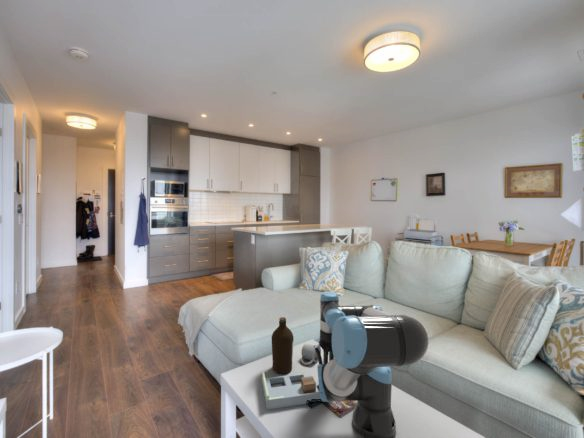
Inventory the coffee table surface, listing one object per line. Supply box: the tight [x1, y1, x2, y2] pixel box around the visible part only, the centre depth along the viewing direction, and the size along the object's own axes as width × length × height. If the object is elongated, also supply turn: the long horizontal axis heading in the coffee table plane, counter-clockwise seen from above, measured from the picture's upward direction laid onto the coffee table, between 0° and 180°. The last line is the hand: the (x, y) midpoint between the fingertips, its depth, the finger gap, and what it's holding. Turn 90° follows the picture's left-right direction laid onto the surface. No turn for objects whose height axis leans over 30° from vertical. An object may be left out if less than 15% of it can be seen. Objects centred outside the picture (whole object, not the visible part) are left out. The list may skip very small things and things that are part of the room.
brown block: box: [301, 375, 317, 394], centre depth 118 cm, size 5×5×4 cm
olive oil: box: [271, 316, 294, 375], centre depth 137 cm, size 11×11×25 cm
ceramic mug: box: [300, 343, 322, 366], centre depth 144 cm, size 11×8×8 cm
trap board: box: [261, 371, 320, 411], centre depth 120 cm, size 16×22×6 cm
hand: (328, 383), depth 120 cm, fingers closed
